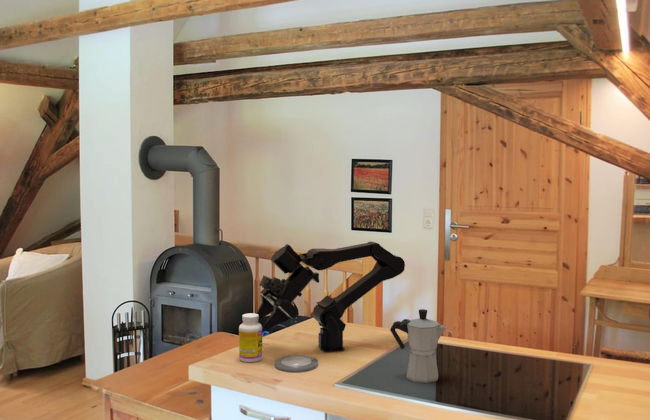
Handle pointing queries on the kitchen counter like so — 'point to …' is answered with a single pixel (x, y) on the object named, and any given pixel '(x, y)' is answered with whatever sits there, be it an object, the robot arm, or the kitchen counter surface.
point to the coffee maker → (420, 346)
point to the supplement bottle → (250, 338)
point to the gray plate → (296, 363)
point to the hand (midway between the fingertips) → (259, 324)
